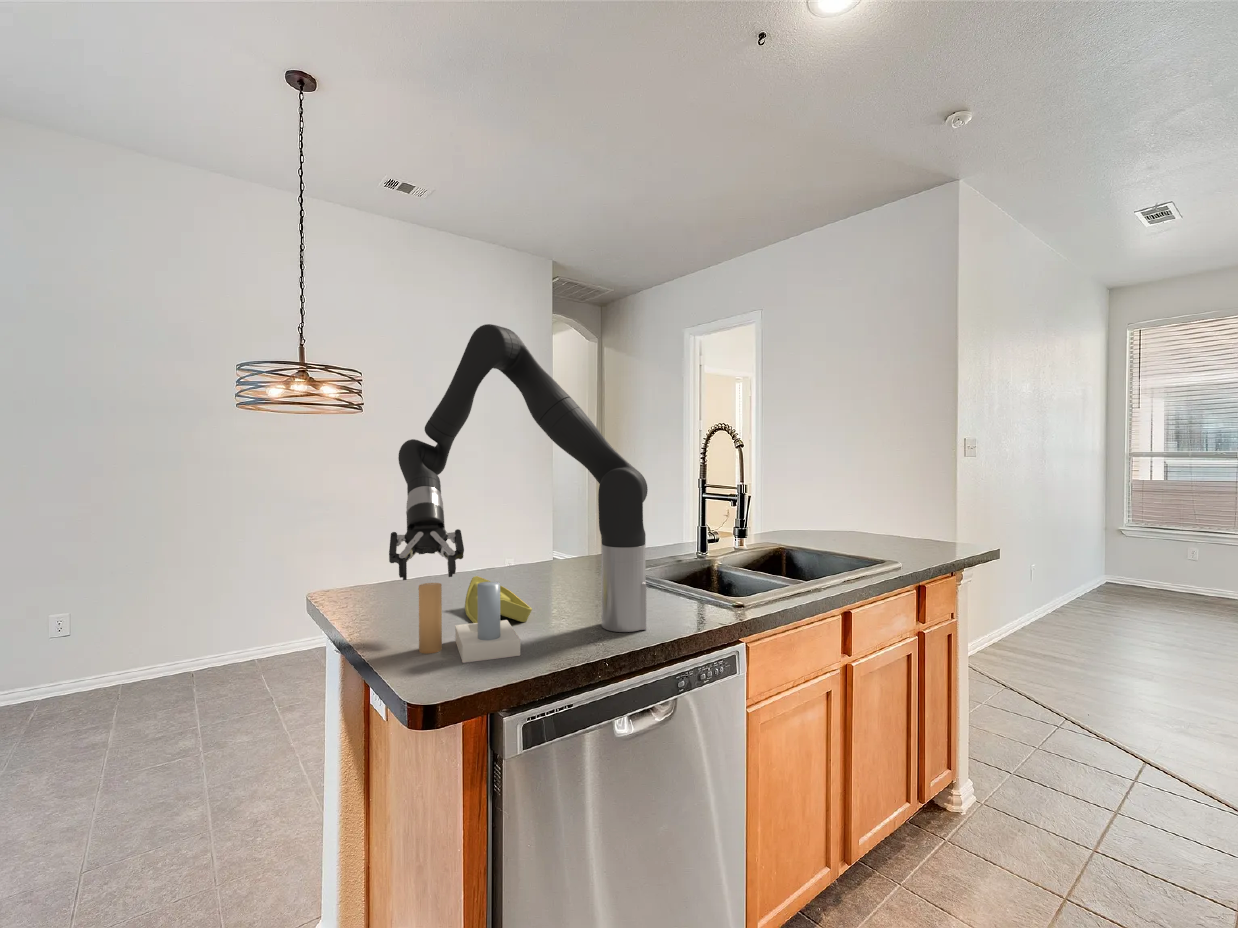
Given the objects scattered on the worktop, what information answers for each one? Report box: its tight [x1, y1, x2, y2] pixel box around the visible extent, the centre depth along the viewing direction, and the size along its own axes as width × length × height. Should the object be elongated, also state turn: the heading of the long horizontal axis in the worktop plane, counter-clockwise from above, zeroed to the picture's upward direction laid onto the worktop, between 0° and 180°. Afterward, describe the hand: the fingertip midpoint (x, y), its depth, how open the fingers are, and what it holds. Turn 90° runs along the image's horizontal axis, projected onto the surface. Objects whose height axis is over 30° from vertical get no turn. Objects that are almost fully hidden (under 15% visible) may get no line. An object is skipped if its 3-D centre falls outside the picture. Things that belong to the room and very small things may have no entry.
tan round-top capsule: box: [418, 582, 443, 655], centre depth 107 cm, size 4×4×12 cm
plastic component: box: [464, 575, 533, 623], centre depth 131 cm, size 20×7×10 cm
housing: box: [454, 581, 521, 664], centre depth 108 cm, size 13×10×13 cm
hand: (428, 576), depth 113 cm, fingers open, 8 cm apart
